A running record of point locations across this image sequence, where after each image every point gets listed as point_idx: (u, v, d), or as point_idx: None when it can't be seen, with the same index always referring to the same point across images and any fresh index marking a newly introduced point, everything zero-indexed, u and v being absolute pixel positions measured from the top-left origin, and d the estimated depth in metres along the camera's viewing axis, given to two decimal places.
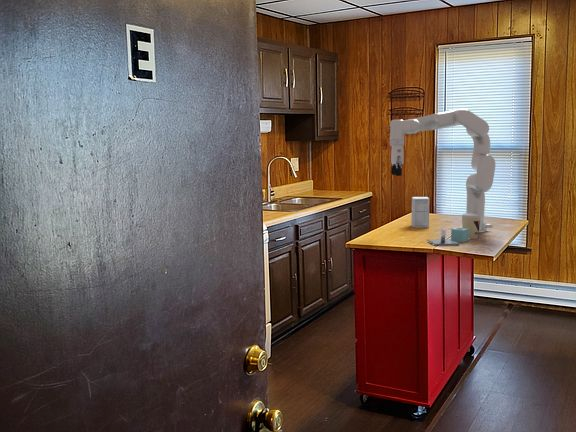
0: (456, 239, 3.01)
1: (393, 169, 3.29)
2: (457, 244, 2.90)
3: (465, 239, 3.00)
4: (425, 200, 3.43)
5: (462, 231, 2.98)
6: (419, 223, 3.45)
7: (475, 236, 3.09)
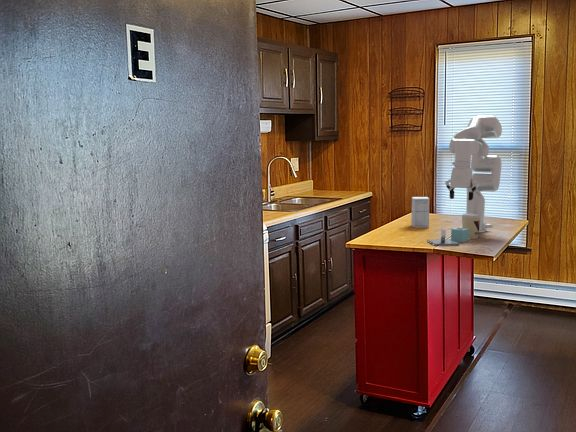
0: (456, 239, 3.01)
1: None
2: (457, 244, 2.90)
3: (465, 239, 3.00)
4: (425, 200, 3.43)
5: (462, 231, 2.98)
6: (419, 223, 3.45)
7: (475, 236, 3.09)
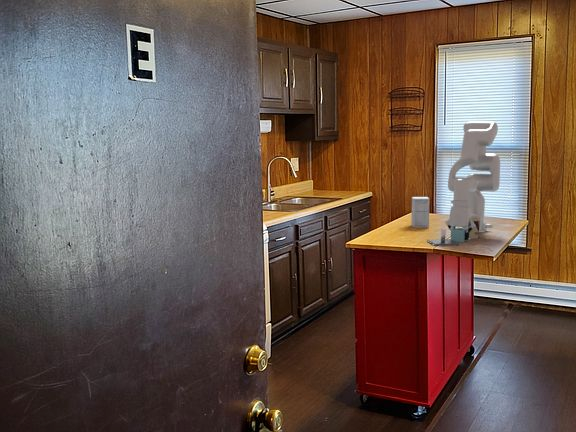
0: (456, 239, 3.01)
1: None
2: (457, 244, 2.90)
3: None
4: (425, 200, 3.43)
5: (462, 231, 2.98)
6: (419, 223, 3.45)
7: (475, 236, 3.09)
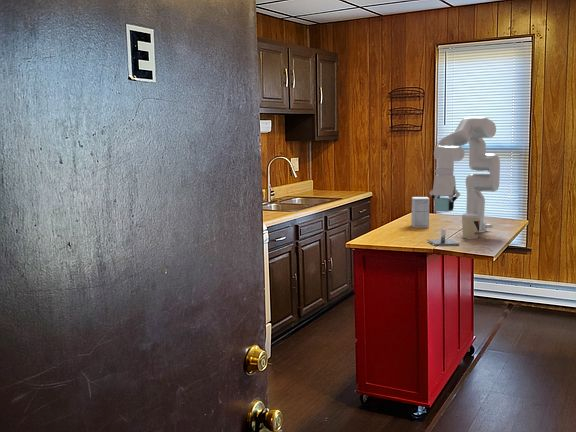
0: (440, 209, 2.91)
1: None
2: (457, 244, 2.90)
3: None
4: (425, 200, 3.43)
5: (447, 200, 2.88)
6: (419, 223, 3.45)
7: (475, 236, 3.09)
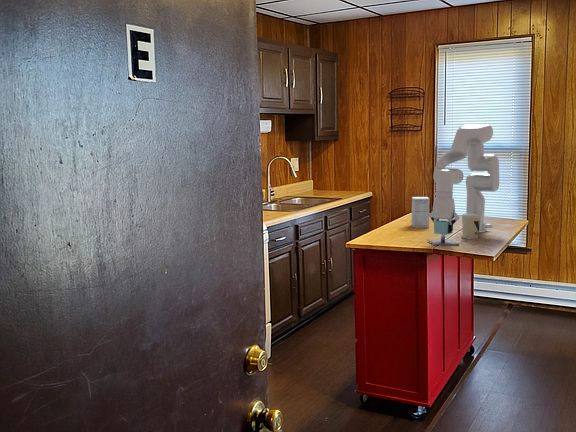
0: (439, 231, 2.92)
1: None
2: (457, 244, 2.90)
3: None
4: (425, 200, 3.43)
5: (446, 223, 2.89)
6: (419, 223, 3.45)
7: (475, 236, 3.09)
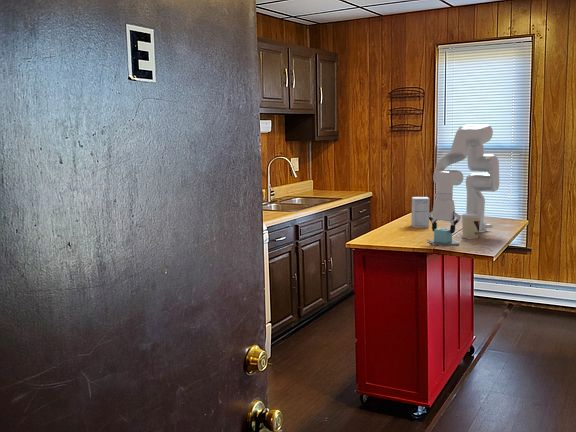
0: (439, 240, 2.93)
1: None
2: (457, 244, 2.90)
3: (448, 240, 2.93)
4: (425, 200, 3.43)
5: (445, 232, 2.90)
6: (419, 223, 3.45)
7: (475, 236, 3.09)
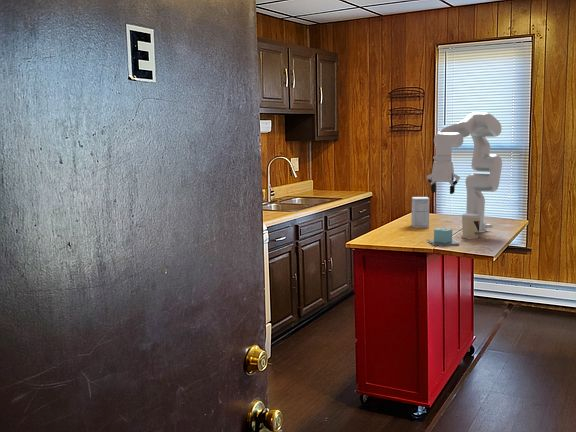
0: (439, 240, 2.93)
1: None
2: (457, 244, 2.90)
3: (448, 240, 2.93)
4: (425, 200, 3.43)
5: (445, 232, 2.90)
6: (419, 223, 3.45)
7: (475, 236, 3.09)
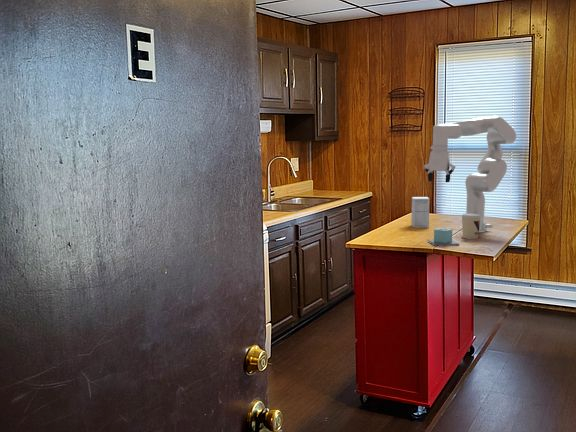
0: (439, 240, 2.93)
1: None
2: (457, 244, 2.90)
3: (448, 240, 2.93)
4: (425, 200, 3.43)
5: (445, 232, 2.90)
6: (419, 223, 3.45)
7: (475, 236, 3.09)
